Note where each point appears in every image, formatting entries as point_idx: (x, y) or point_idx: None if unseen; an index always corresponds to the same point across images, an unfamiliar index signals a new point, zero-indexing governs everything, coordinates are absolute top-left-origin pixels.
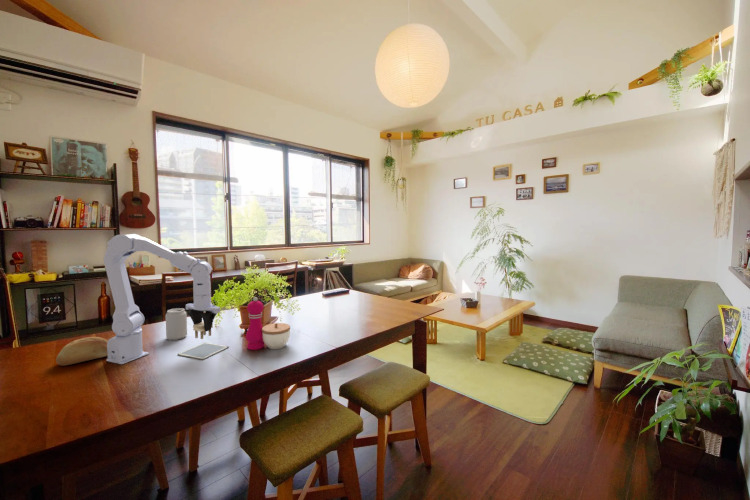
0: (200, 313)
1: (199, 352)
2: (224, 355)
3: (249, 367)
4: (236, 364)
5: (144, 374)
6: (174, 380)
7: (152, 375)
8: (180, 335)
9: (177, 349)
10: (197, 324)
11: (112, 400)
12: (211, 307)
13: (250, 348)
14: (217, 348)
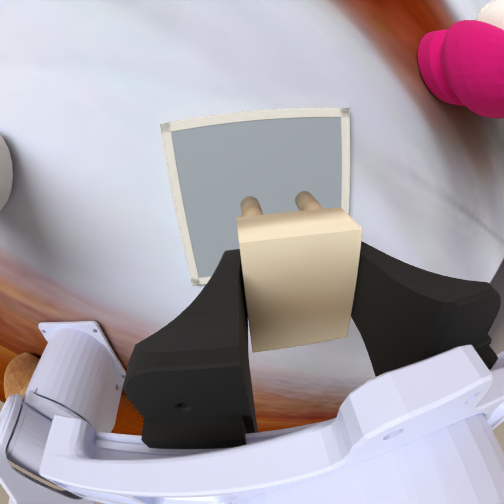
0: (245, 366)
1: None
2: (392, 190)
3: (492, 229)
4: (462, 231)
5: (254, 383)
6: (359, 361)
7: (280, 377)
8: (6, 177)
9: (123, 245)
10: (274, 332)
11: (306, 423)
12: (501, 418)
13: (451, 103)
14: (313, 150)
